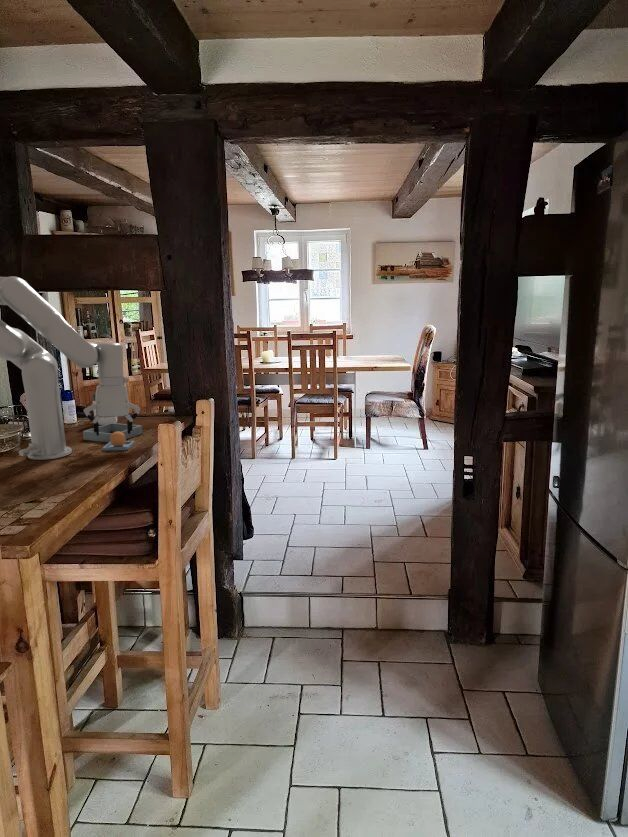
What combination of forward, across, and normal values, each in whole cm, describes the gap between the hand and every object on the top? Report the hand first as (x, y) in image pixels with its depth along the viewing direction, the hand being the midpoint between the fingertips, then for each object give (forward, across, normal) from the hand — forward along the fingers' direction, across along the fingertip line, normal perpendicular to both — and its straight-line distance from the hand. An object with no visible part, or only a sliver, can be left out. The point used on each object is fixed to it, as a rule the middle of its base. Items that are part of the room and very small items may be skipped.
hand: (113, 433), depth 181 cm
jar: (+5, +1, -41) cm, 41 cm away
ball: (+4, -2, 0) cm, 5 cm away
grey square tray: (+5, -1, -16) cm, 17 cm away
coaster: (+5, -2, 0) cm, 5 cm away
